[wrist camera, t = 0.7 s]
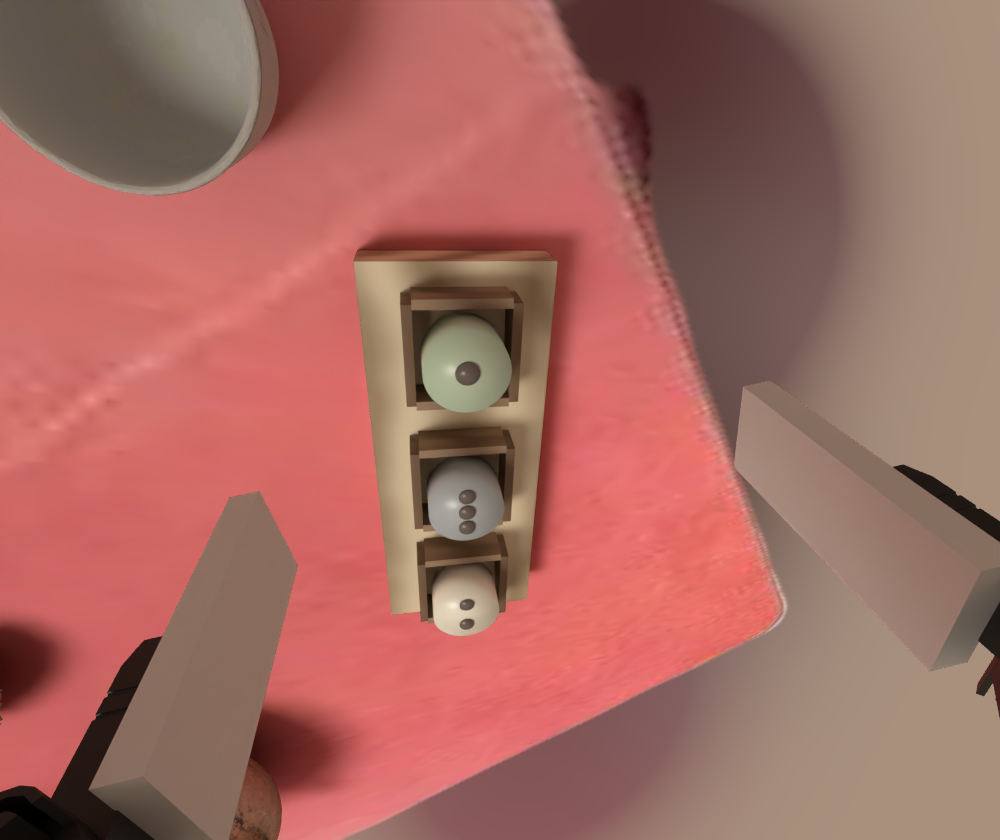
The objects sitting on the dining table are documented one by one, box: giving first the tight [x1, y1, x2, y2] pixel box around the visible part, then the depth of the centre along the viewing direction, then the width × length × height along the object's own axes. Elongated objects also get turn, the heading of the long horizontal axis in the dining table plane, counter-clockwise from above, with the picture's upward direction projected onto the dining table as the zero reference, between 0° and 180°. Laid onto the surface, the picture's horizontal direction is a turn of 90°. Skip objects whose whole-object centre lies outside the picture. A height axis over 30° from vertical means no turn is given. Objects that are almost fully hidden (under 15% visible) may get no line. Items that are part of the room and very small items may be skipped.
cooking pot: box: [229, 757, 282, 840], centre depth 49 cm, size 25×19×12 cm
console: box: [353, 250, 558, 623], centre depth 37 cm, size 12×30×6 cm, turn 178°
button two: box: [432, 562, 499, 636], centre depth 39 cm, size 5×5×3 cm
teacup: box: [0, 0, 279, 196], centre depth 21 cm, size 14×11×8 cm
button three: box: [427, 455, 505, 541], centre depth 34 cm, size 5×5×3 cm
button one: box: [421, 313, 512, 413], centre depth 29 cm, size 5×5×3 cm
